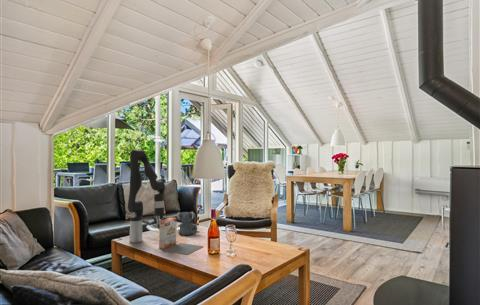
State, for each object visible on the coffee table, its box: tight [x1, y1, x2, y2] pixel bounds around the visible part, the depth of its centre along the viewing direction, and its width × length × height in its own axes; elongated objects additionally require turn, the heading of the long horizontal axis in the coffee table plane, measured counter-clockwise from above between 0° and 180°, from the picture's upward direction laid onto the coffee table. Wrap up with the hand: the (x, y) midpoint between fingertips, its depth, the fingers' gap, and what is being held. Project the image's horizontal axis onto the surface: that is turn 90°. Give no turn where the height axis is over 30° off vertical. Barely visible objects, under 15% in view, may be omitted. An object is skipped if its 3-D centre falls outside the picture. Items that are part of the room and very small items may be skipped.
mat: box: [163, 242, 204, 256], centre depth 228 cm, size 22×20×1 cm
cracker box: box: [158, 216, 178, 250], centre depth 235 cm, size 14×6×21 cm, turn 154°
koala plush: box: [176, 211, 198, 236], centre depth 273 cm, size 17×18×20 cm
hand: (160, 228), depth 239 cm, fingers closed
